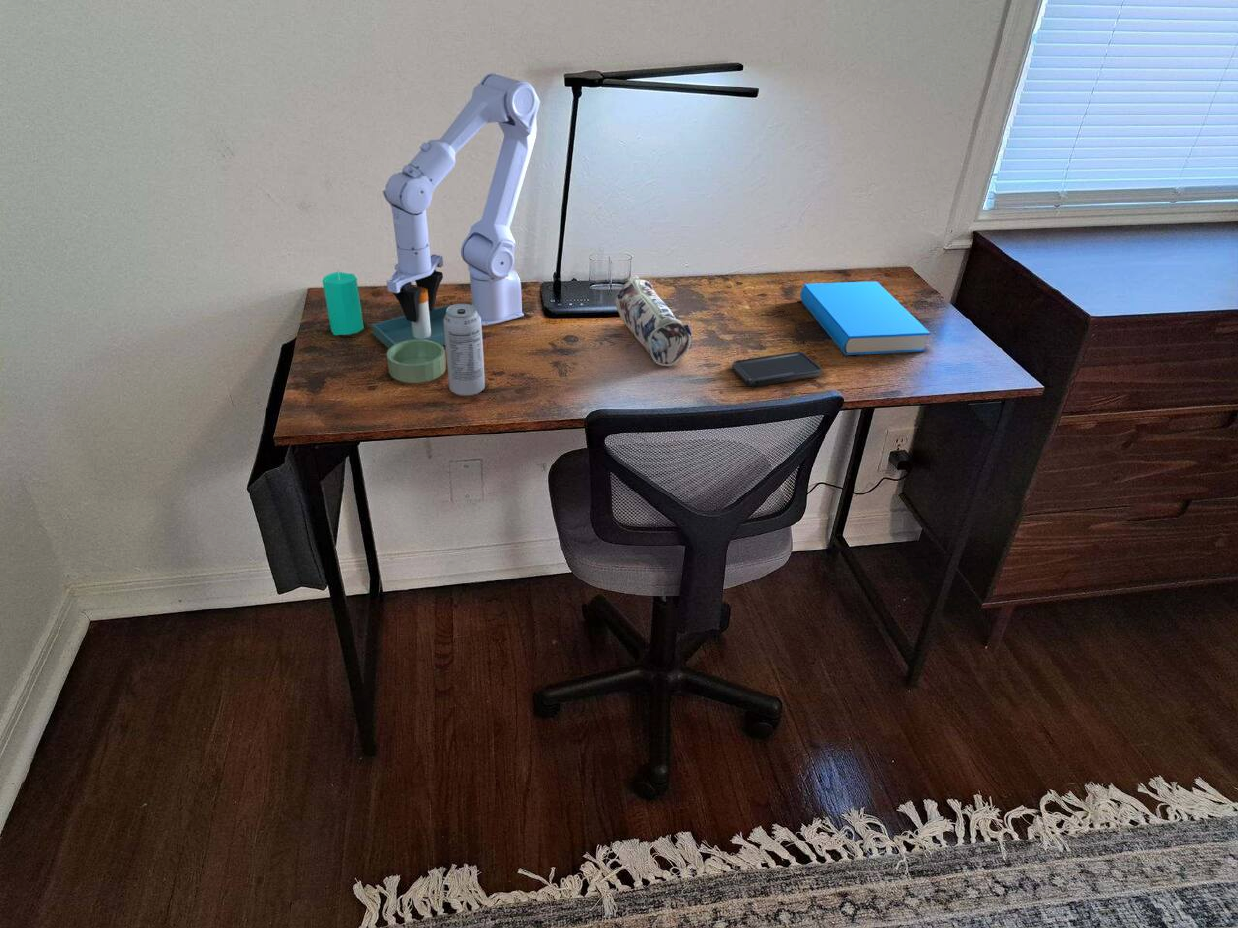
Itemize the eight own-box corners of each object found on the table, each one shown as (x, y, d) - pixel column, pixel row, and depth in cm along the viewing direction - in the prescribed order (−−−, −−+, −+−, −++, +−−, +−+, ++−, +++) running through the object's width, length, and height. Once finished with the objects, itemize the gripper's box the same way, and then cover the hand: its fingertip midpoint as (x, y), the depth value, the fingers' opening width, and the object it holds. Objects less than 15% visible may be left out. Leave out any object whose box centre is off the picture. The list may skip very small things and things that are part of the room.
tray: (449, 316, 167) (448, 305, 165) (476, 337, 160) (475, 325, 158) (373, 336, 158) (371, 324, 157) (398, 359, 151) (396, 346, 150)
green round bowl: (430, 353, 154) (428, 334, 152) (455, 375, 147) (454, 356, 145) (380, 367, 149) (377, 348, 147) (403, 390, 142) (401, 371, 140)
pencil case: (691, 365, 154) (696, 316, 148) (648, 370, 151) (651, 321, 146) (651, 315, 170) (654, 269, 165) (611, 319, 168) (613, 273, 163)
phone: (730, 361, 153) (802, 350, 157) (729, 367, 153) (801, 356, 158) (750, 382, 147) (824, 370, 151) (749, 387, 147) (823, 375, 152)
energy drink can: (485, 381, 146) (480, 301, 137) (485, 399, 141) (480, 317, 132) (450, 382, 145) (443, 302, 137) (448, 400, 140) (441, 318, 132)
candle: (355, 338, 157) (345, 278, 150) (325, 334, 158) (314, 274, 151) (369, 325, 162) (360, 266, 155) (340, 321, 163) (330, 262, 156)
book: (876, 281, 180) (932, 331, 160) (872, 299, 182) (926, 351, 162) (800, 283, 177) (847, 335, 157) (797, 302, 179) (843, 355, 159)
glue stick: (426, 329, 161) (422, 285, 155) (435, 336, 158) (430, 292, 153) (409, 333, 159) (403, 289, 154) (417, 341, 156) (412, 296, 151)
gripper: (417, 228, 155) (424, 296, 163) (368, 253, 144) (378, 325, 152) (450, 234, 153) (455, 304, 161) (403, 261, 142) (411, 334, 150)
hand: (420, 315), depth 156 cm, fingers open, 4 cm apart
